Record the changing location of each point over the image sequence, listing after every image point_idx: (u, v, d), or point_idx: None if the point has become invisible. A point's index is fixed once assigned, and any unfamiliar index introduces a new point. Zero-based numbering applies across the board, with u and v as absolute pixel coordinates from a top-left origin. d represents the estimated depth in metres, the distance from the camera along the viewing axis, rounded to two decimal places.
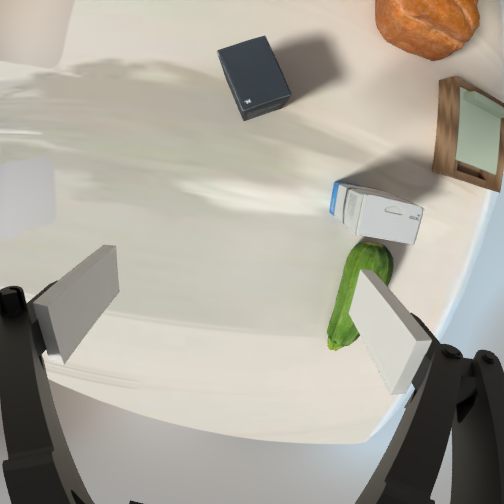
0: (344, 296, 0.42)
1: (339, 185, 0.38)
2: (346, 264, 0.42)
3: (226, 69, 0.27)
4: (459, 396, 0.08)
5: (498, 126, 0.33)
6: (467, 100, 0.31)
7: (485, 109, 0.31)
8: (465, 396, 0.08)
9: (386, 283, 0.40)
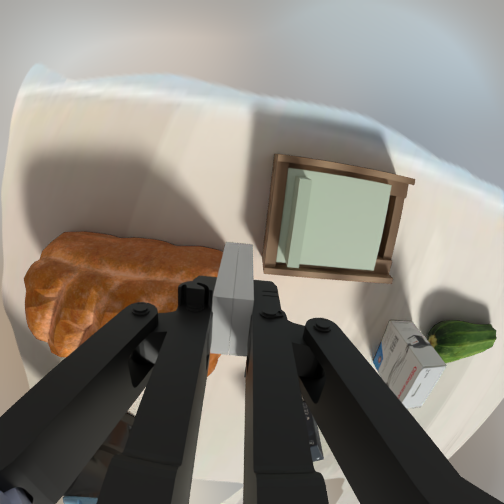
0: None
1: (379, 372, 0.42)
2: None
3: None
4: None
5: (320, 177, 0.30)
6: None
7: None
8: (297, 366, 0.10)
9: (465, 339, 0.36)
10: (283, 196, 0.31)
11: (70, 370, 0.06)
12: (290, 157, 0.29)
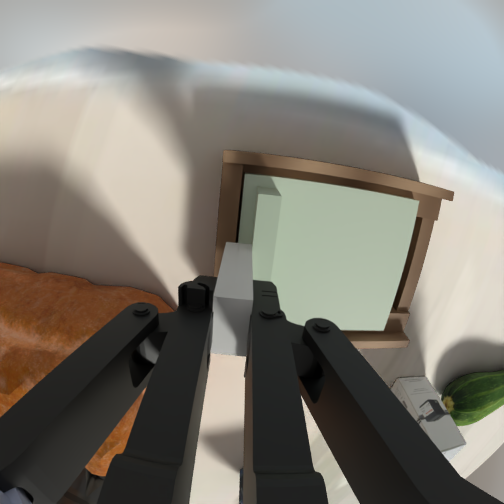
0: None
1: None
2: None
3: None
4: None
5: (301, 189, 0.18)
6: None
7: None
8: (297, 366, 0.10)
9: (488, 400, 0.24)
10: (235, 222, 0.18)
11: (71, 370, 0.06)
12: (244, 155, 0.17)
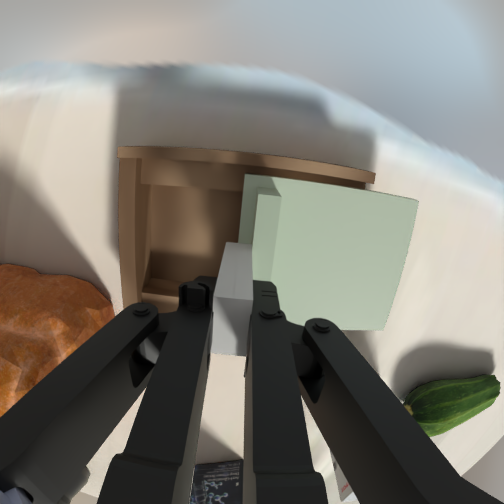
0: None
1: None
2: None
3: None
4: None
5: (301, 189, 0.18)
6: None
7: None
8: (297, 366, 0.10)
9: (453, 410, 0.24)
10: (132, 213, 0.18)
11: (71, 370, 0.06)
12: (135, 149, 0.16)
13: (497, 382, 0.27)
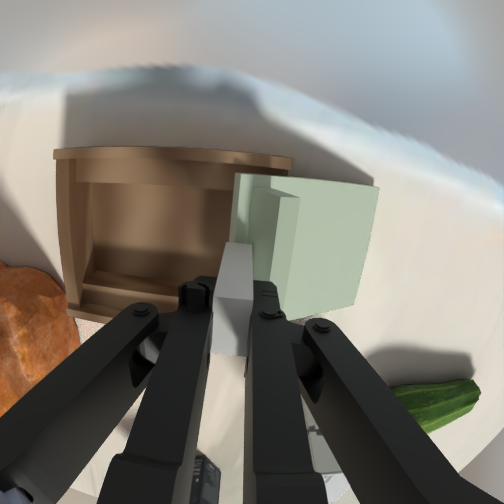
0: None
1: None
2: None
3: None
4: None
5: (292, 186, 0.18)
6: None
7: None
8: (297, 366, 0.10)
9: (419, 419, 0.24)
10: (67, 209, 0.18)
11: (70, 370, 0.06)
12: (67, 151, 0.16)
13: (475, 388, 0.27)
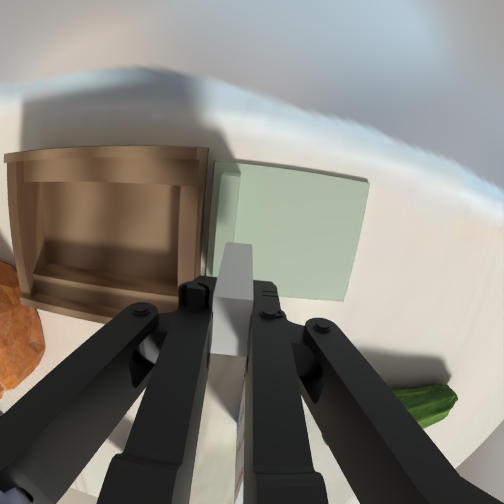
0: None
1: None
2: None
3: None
4: None
5: (261, 173, 0.21)
6: None
7: None
8: (297, 366, 0.10)
9: None
10: (16, 207, 0.18)
11: (70, 370, 0.06)
12: (13, 154, 0.16)
13: (448, 394, 0.26)
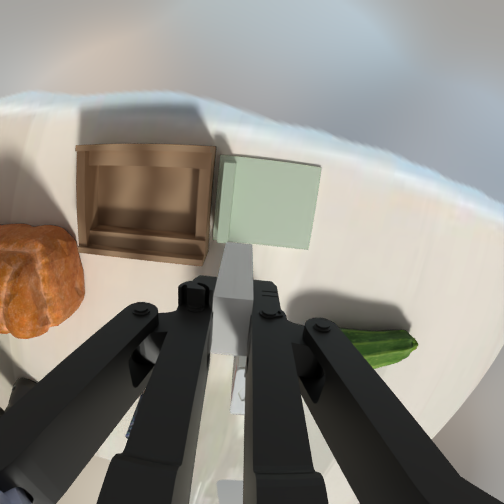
0: None
1: None
2: None
3: None
4: None
5: (249, 162, 0.34)
6: (229, 231, 0.36)
7: (232, 198, 0.34)
8: (297, 366, 0.10)
9: None
10: (83, 181, 0.30)
11: (70, 370, 0.06)
12: (84, 146, 0.28)
13: (406, 336, 0.39)
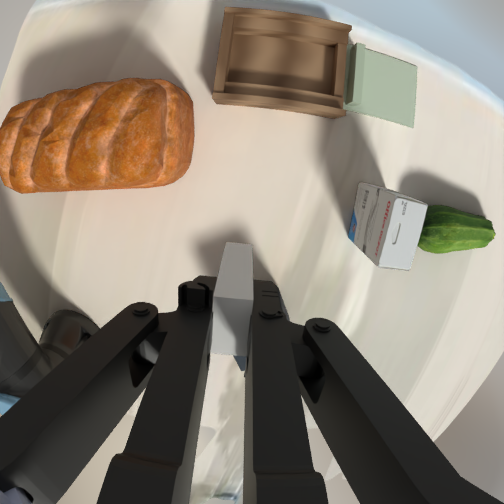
0: (456, 250, 0.39)
1: (355, 244, 0.40)
2: None
3: None
4: None
5: (367, 52, 0.33)
6: None
7: None
8: (297, 366, 0.10)
9: (452, 220, 0.35)
10: (229, 35, 0.29)
11: (70, 370, 0.06)
12: (234, 8, 0.27)
13: (488, 220, 0.38)
